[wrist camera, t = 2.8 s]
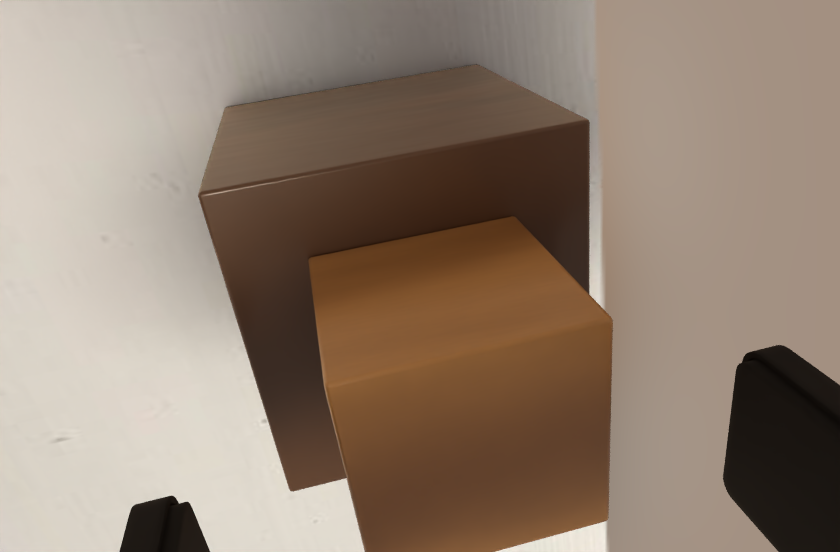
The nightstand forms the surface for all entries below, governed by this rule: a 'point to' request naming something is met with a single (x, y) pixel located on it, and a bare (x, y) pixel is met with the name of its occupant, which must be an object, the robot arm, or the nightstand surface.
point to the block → (465, 389)
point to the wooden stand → (374, 209)
